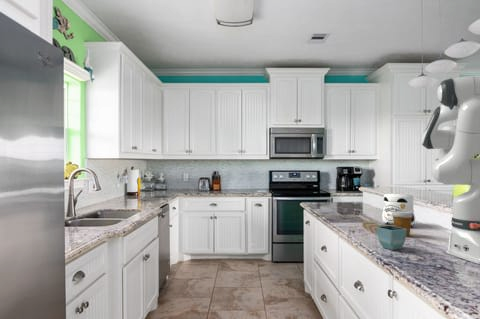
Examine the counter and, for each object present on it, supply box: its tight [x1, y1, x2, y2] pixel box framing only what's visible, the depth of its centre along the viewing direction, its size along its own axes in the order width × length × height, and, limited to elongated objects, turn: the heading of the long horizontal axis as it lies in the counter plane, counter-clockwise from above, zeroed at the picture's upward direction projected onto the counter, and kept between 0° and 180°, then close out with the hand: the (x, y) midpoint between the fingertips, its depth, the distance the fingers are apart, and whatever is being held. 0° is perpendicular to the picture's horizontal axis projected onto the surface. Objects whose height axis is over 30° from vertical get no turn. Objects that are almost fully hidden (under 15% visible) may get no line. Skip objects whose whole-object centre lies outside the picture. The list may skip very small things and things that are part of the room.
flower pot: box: [376, 226, 407, 251], centre depth 134 cm, size 9×9×9 cm
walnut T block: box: [361, 221, 394, 235], centre depth 166 cm, size 24×16×3 cm, turn 0°
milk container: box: [381, 193, 416, 227], centre depth 182 cm, size 17×17×18 cm
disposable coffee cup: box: [392, 211, 413, 238], centre depth 157 cm, size 10×10×12 cm
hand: (446, 184), depth 159 cm, fingers closed
